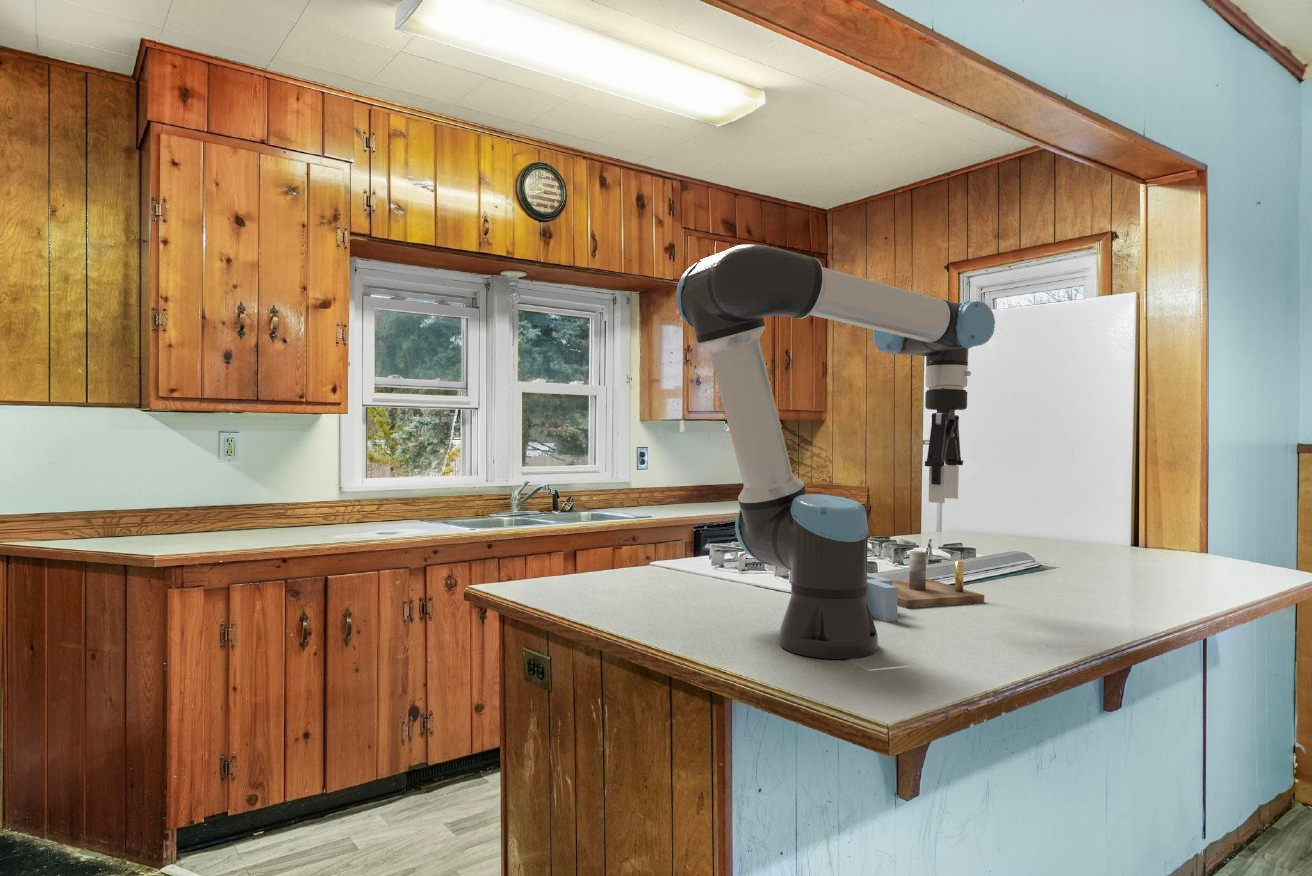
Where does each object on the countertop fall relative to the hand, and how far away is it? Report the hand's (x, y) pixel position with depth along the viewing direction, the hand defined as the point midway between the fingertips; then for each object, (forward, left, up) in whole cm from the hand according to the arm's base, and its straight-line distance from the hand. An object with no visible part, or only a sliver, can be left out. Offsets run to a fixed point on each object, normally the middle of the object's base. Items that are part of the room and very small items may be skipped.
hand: (943, 500), depth 154 cm
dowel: (+9, +6, -19) cm, 22 cm away
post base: (+2, +11, -21) cm, 24 cm away
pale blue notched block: (-16, +1, -21) cm, 26 cm away
